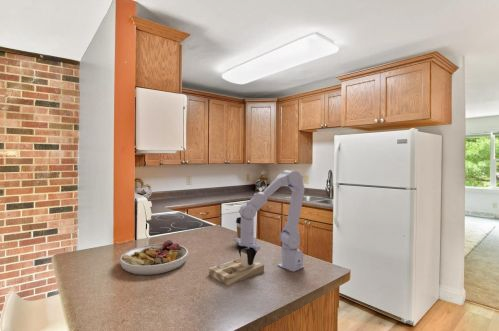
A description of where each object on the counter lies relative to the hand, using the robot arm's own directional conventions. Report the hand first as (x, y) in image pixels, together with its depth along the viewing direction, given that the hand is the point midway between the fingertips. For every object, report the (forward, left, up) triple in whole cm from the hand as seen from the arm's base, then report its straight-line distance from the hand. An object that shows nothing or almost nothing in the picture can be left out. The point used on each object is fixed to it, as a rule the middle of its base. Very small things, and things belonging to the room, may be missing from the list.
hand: (247, 262), depth 121 cm
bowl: (+36, +26, -4) cm, 44 cm away
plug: (0, 0, -2) cm, 2 cm away
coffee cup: (+32, -24, -4) cm, 40 cm away
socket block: (+2, +5, -4) cm, 6 cm away
